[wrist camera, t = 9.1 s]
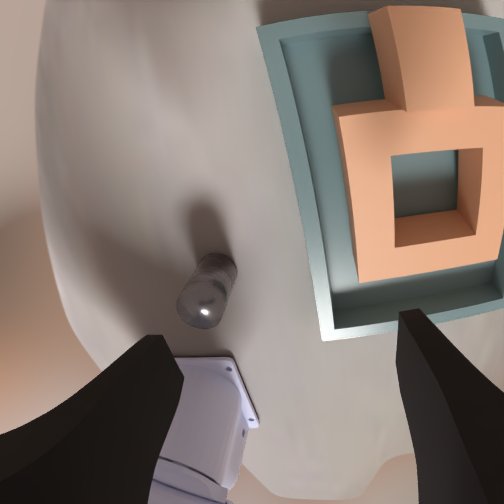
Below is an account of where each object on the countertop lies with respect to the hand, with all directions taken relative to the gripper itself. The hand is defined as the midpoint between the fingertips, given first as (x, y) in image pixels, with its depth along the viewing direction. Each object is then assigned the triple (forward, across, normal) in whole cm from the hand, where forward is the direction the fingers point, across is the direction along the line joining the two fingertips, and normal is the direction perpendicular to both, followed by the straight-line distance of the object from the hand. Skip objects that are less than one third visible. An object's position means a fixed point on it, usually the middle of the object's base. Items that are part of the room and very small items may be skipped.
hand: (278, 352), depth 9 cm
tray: (+9, -7, -2) cm, 12 cm away
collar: (+8, -7, -4) cm, 11 cm away
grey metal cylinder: (+9, +5, +2) cm, 11 cm away
